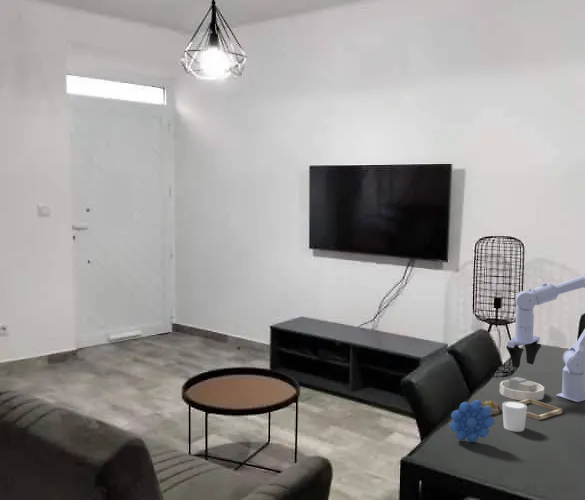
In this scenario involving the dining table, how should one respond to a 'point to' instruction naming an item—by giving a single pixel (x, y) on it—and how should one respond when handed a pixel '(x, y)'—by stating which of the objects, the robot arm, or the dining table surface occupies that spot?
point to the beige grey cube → (527, 387)
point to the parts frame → (545, 415)
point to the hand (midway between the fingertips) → (523, 365)
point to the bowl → (521, 392)
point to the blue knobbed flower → (471, 421)
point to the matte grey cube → (516, 383)
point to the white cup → (514, 415)
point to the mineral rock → (492, 406)
